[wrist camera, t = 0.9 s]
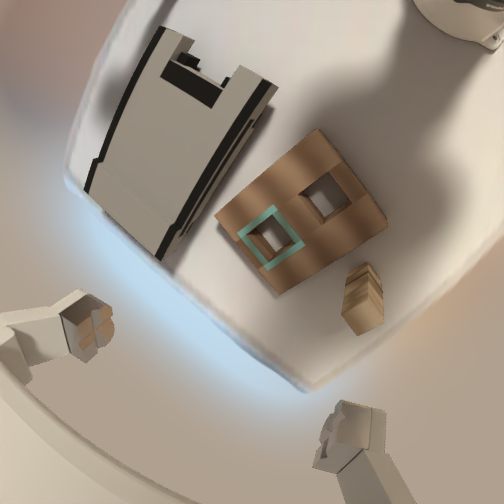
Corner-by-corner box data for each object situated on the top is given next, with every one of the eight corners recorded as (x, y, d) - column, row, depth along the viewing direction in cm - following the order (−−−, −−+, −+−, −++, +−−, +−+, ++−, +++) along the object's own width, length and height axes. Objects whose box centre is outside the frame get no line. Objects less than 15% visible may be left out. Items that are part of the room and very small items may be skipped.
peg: (368, 259, 45) (368, 299, 34) (381, 279, 45) (384, 322, 35) (347, 272, 47) (340, 314, 36) (360, 291, 47) (357, 336, 37)
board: (319, 129, 40) (315, 129, 36) (386, 218, 41) (388, 226, 38) (224, 208, 50) (213, 216, 46) (285, 283, 51) (278, 295, 48)
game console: (285, 90, 39) (269, 82, 32) (186, 243, 56) (160, 261, 48) (183, 34, 40) (155, 23, 33) (112, 180, 56) (83, 189, 49)
